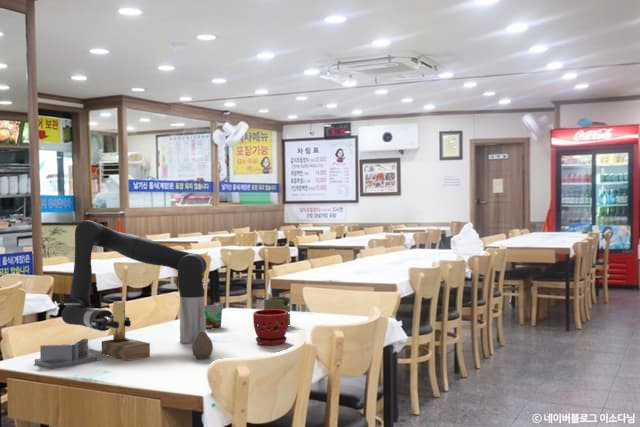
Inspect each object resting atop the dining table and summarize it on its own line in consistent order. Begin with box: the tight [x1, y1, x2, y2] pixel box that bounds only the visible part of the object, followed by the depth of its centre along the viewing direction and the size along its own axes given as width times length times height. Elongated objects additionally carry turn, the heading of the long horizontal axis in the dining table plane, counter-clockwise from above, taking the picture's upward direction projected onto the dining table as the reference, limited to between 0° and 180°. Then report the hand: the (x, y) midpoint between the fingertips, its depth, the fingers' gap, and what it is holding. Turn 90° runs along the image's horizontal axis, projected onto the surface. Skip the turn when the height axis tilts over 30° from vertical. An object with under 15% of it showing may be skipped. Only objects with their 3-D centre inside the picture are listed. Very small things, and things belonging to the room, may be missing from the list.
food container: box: [205, 301, 224, 330], centre depth 288 cm, size 12×6×10 cm, turn 168°
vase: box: [191, 332, 214, 360], centre depth 226 cm, size 7×7×9 cm
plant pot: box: [252, 309, 289, 346], centre depth 252 cm, size 13×13×12 cm
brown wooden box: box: [101, 337, 151, 361], centre depth 232 cm, size 16×9×4 cm, turn 47°
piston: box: [263, 296, 291, 326], centre depth 291 cm, size 11×12×11 cm
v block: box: [34, 338, 98, 370], centre depth 221 cm, size 12×16×6 cm
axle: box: [112, 300, 126, 343], centre depth 234 cm, size 4×4×18 cm
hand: (123, 324), depth 233 cm, fingers closed on axle, 4 cm apart
